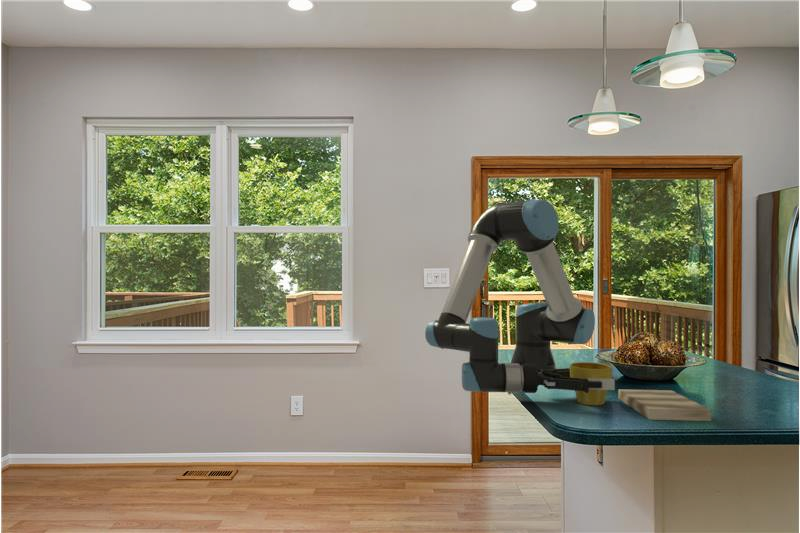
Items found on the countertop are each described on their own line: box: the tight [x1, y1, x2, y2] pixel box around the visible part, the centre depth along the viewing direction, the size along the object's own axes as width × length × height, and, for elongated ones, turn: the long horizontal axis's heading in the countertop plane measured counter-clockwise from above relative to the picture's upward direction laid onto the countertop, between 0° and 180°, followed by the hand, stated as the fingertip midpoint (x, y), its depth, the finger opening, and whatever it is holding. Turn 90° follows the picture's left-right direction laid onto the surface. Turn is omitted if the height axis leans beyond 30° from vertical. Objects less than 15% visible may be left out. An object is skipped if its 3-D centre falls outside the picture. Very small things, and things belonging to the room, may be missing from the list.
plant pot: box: [569, 361, 613, 406], centre depth 138 cm, size 10×10×10 cm
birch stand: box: [617, 388, 712, 422], centre depth 133 cm, size 20×14×2 cm
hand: (606, 379), depth 138 cm, fingers closed on plant pot, 10 cm apart
